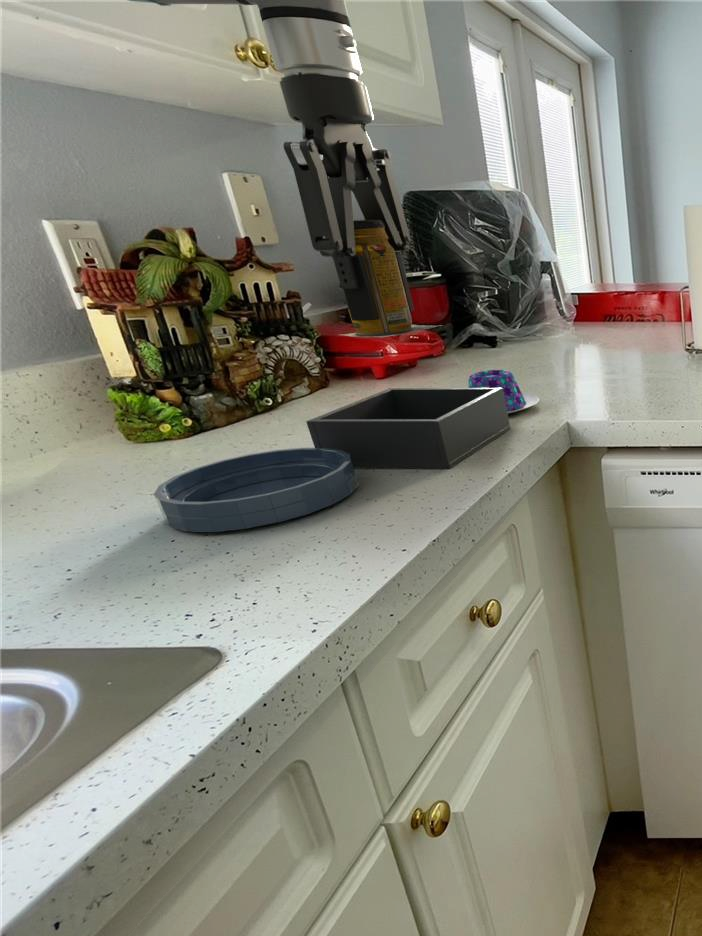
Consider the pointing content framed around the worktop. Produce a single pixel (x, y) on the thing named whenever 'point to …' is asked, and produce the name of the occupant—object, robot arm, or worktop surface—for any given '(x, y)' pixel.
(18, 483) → the worktop surface
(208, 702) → the worktop surface
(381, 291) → the condiment
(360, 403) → the bin
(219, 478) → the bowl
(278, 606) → the worktop surface
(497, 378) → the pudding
